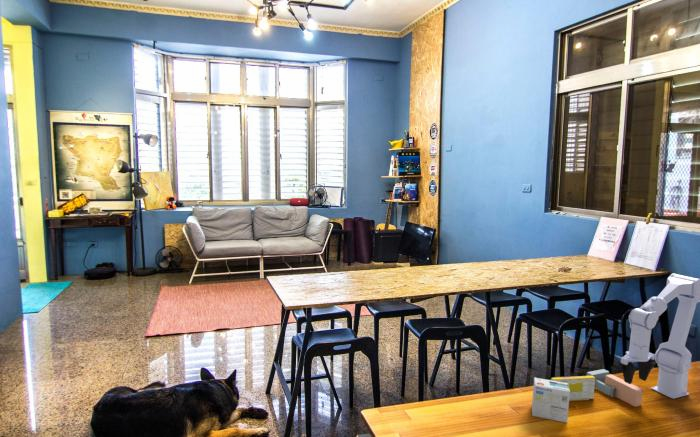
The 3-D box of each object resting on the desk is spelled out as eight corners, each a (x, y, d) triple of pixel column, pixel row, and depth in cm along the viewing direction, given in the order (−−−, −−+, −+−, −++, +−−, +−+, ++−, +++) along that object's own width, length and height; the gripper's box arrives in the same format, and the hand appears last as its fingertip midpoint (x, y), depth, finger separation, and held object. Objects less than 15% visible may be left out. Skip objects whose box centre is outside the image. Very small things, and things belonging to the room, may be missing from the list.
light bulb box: (565, 413, 149) (568, 382, 148) (567, 423, 143) (571, 391, 142) (530, 406, 153) (533, 376, 151) (531, 416, 146) (534, 385, 145)
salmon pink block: (609, 389, 167) (611, 374, 167) (641, 405, 156) (642, 389, 156) (603, 390, 166) (605, 375, 165) (635, 407, 155) (637, 390, 154)
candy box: (590, 397, 161) (592, 375, 160) (594, 400, 159) (596, 377, 158) (548, 399, 158) (550, 376, 157) (552, 402, 156) (554, 379, 155)
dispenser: (602, 381, 173) (603, 368, 173) (627, 394, 164) (629, 381, 163) (585, 384, 170) (586, 372, 169) (610, 398, 160) (612, 384, 160)
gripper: (642, 337, 161) (638, 373, 163) (614, 341, 156) (610, 378, 157) (662, 344, 155) (657, 382, 157) (633, 349, 149) (629, 388, 151)
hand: (635, 381), depth 157 cm, fingers open, 7 cm apart
